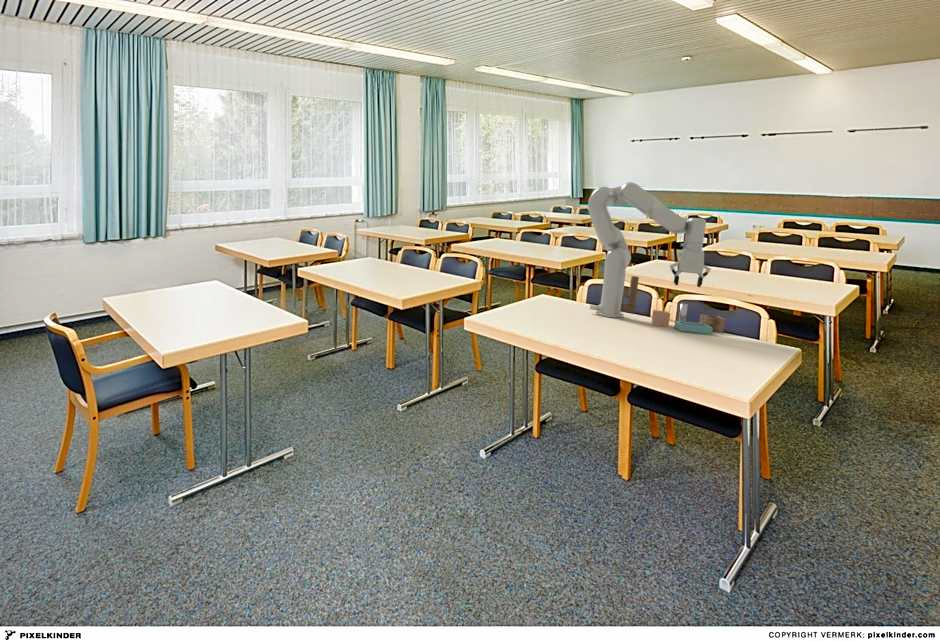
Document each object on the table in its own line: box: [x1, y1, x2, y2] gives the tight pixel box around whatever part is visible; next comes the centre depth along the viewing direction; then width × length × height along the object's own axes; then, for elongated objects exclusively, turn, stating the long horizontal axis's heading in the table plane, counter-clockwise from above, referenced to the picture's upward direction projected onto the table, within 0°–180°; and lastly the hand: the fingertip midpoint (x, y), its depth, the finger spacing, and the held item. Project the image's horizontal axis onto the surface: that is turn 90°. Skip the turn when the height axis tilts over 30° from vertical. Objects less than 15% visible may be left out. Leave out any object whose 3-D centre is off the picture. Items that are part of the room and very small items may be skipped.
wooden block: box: [621, 275, 640, 314], centre depth 291 cm, size 4×11×18 cm, turn 52°
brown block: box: [698, 314, 726, 334], centre depth 256 cm, size 8×8×6 cm
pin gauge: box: [677, 303, 689, 322], centre depth 260 cm, size 3×3×10 cm
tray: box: [673, 320, 713, 335], centre depth 249 cm, size 13×10×3 cm
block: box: [651, 309, 671, 328], centre depth 258 cm, size 6×6×6 cm
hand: (687, 285), depth 257 cm, fingers open, 9 cm apart
